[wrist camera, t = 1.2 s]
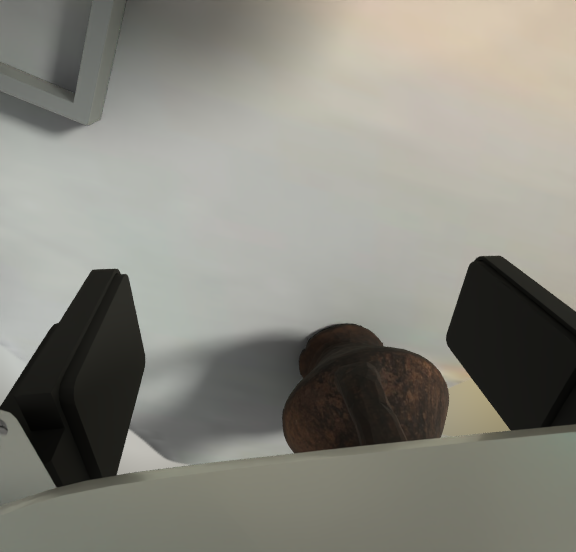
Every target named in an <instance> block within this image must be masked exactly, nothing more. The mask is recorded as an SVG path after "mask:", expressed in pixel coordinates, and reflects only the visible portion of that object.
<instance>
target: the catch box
mask: <svg viewBox="0 0 576 552" xmlns="http://www.w3.org/2000/svg"><path fill="white" fill-rule="evenodd" d="M126 1H127V0H92V5H91V11H90V16H89V22H88V27H87V32H86V38H85V43H84V49H83V54H82V59H81V65H80V70H79V76H78V81H77V87H76V92H75V93H73V92H71V91H68V90H66V89H63V88H61V87H59V86H56V85H54V84H52V83H49V82H47V81H44V80H42V79H40V78H37V77H35V76H33V75H30V74H28V73H25V72H23V71H21V70H18V69H16V68H14V67H11V66H9V65H6V64H4V63H2V62H0V91H1V92H3V93H6V94H8V95H11V96H13V97H16V98H18V99H21V100H23V101H26V102H28V103H31V104H33V105H36V106H38V107H41V108H43V109H46V110H48V111H51V112H53V113H56V114H58V115H61V116H64V117H66V118H69V119H71V120H74V121H76V122H79V123H81V124H84V125H86V126H89V125H91V124H93V123H95V122H97V121H99V120H101V115H102V111H103V106H104V102H105V97H106V92H107V88H108V83H109V79H110V74H111V69H112V65H113V60H114V56H115V51H116V46H117V42H118V37H119V33H120V28H121V23H122V19H123V14H124V10H125V5H126Z"/></svg>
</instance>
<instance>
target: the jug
mask: <svg viewBox="0 0 576 552" xmlns="http://www.w3.org/2000/svg"><path fill="white" fill-rule="evenodd" d="M299 369H300V374H301V375H302V377H303V378H304V379H303V380H302V381H301V382H300V383H299V384H298V385H297V386H296V387H295V389H294V390H293V391H292V393H291V394H290V396H289V398H288V400H287V401H286V404H285V407H284V409H283V415H282V421H283V432H284V436H285V439H286V441H287V443H288V445H289V447H290V448H291V450H292V451H293V452H294V453H303V452H312V451H321V450H330V449H339V448H349V447H358V446H368V445H377V444H387V443H396V442H406V441H415V440H425V439H434V438H441V435H442V432H443V428H444V424H445V420H446V416H447V410H448V405H449V393H448V388H447V384H446V382H445V380H444V378H443V377H442V375H441V373H440V371H439V370H438V369H437V368H436V367H435V366H434V365H433V364H432V363H431V362H430V361H428V360H427V359H426V358H424V357H422V356H420V355H419V354H416V353H413V352H410V351H407V350H404V349H399V348H392V347H384V346H383V343H382V342H381V341H380V340H379V338H378V337H377V336H376V335H375V334H374V333H373V332H371V331H370V330H368V329H366V328H363V327H362V326H358V325H356V324H341V325H337V326H334V327H331V328H327V329H325V330H323V331H321V332H319V333H318V334H316V335H314V336H313V337H312V338H311V339H310V340H309V341H308V343H307V345H306V349H304V350H303V351H302V353H301V355H300V358H299Z"/></svg>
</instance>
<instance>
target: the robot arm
mask: <svg viewBox="0 0 576 552" xmlns="http://www.w3.org/2000/svg"><path fill="white" fill-rule="evenodd" d="M446 341H447V345H448V347H449V348H450V350H451V351H452V352H453V354H454V355H455V356H456V358H457V359H458V360H459V362H460V363H461V364H462V366H463V367H464V368H465V370H466V371H467V373H468V374H469V375H470V377H471V378H472V379H473V381H474V382H475V383H476V385H478V387H479V389H480V390H481V391H482V393H483V394H484V395H485V397H486V398H487V399H488V401H489V402H490V403H491V405H492V406H493V407H494V409H495V410H496V411H497V413H498V414H499V415H500V417H501V418H502V419H503V421H504V422H505V423H506V425H507V426H508V427H509V429H510V430H511V431H503V432H493V433H483V434H473V435H464V436H454V437H444V438H434V439H425V440H415V441H406V442H396V443H387V444H377V445H368V446H358V447H349V448H339V449H330V450H321V451H312V452H303V453H294V454H285V455H276V456H267V457H257V458H248V459H239V460H230V461H221V462H213V463H205V464H197V465H189V466H182V467H173V468H166V469H158V470H150V471H142V472H134V473H128V474H123V475H117V471H118V467H119V463H120V459H121V456H122V452H123V448H124V444H125V440H126V436H127V433H128V429H129V425H130V422H131V418H132V414H133V410H134V406H135V403H136V399H137V395H138V391H139V387H140V384H141V380H142V376H143V372H144V368H145V353H144V348H143V343H142V339H141V334H140V329H139V324H138V320H137V315H136V310H135V306H134V301H133V296H132V291H131V287H130V282H129V278H128V276H127V275H126V274H120V271H119V270H118V269H98V270H92V271H91V272H90V274H89V276H88V277H87V279H86V280H85V282H84V284H83V285H82V287H81V288H80V290H79V292H78V293H77V295H76V296H75V298H74V300H73V301H72V303H71V304H70V306H69V308H68V309H67V311H66V312H65V314H64V316H63V317H62V319H61V320H60V322H59V323H57V324H54V325H53V326H52V327H51V328H50V330H49V331H48V333H47V335H46V336H45V338H44V339H43V341H42V342H41V344H40V345H39V347H38V349H37V350H36V352H35V353H34V355H33V356H32V358H31V359H30V361H29V363H28V364H27V366H26V367H25V369H24V370H23V372H22V374H21V375H20V377H19V378H18V380H17V381H16V383H15V384H14V386H13V388H12V389H11V391H10V392H9V394H8V395H7V397H6V399H5V400H4V402H3V403H2V405H1V406H0V552H576V312H575V311H574V310H573V309H571V308H570V307H569V306H567V305H566V304H565V303H563V302H562V301H561V300H559V299H558V298H557V297H555V296H554V295H553V294H551V293H550V292H549V291H547V290H546V289H545V288H543V287H542V286H541V285H539V284H538V283H537V282H535V281H534V280H533V279H531V278H530V277H529V276H527V275H526V274H525V273H523V272H522V271H521V270H519V269H518V268H517V267H515V266H514V265H513V264H511V263H510V262H509V261H507V260H506V259H505V258H503V257H501V256H480V257H478V258H476V259H475V261H474V262H472V263H471V264H470V265H469V267H468V270H467V273H466V276H465V280H464V283H463V286H462V289H461V292H460V295H459V298H458V301H457V304H456V307H455V310H454V313H453V316H452V319H451V323H450V326H449V329H448V332H447V335H446Z"/></svg>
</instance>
